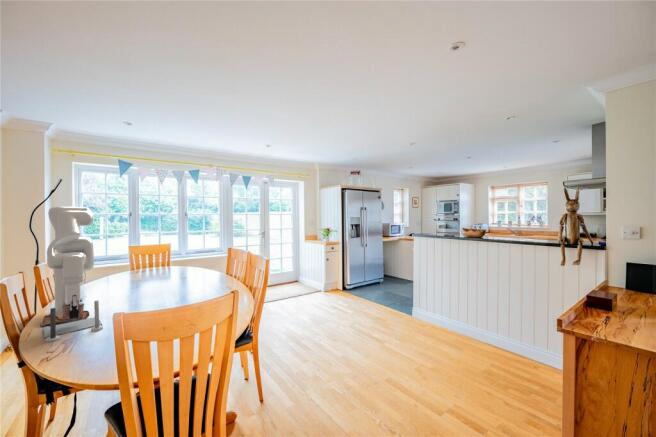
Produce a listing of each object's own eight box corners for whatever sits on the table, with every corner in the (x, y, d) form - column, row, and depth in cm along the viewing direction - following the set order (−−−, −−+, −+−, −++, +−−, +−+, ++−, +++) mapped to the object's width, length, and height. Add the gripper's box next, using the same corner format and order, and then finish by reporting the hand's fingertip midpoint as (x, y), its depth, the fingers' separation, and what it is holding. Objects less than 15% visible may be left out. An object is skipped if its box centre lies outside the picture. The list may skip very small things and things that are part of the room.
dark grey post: (45, 340, 120) (45, 308, 119) (59, 336, 123) (59, 306, 123) (46, 343, 117) (46, 311, 117) (60, 339, 120) (60, 308, 120)
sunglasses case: (37, 327, 132) (40, 314, 135) (41, 330, 137) (44, 317, 140) (86, 320, 141) (87, 307, 144) (88, 323, 146) (90, 311, 149)
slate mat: (43, 329, 131) (43, 327, 131) (97, 317, 146) (97, 316, 146) (44, 338, 121) (44, 336, 121) (102, 325, 136) (102, 323, 136)
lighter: (60, 322, 130) (60, 301, 130) (64, 319, 133) (64, 299, 133) (82, 319, 133) (82, 299, 133) (85, 317, 136) (85, 297, 136)
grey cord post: (90, 329, 131) (89, 300, 130) (102, 326, 134) (101, 298, 134) (91, 332, 128) (90, 303, 127) (103, 329, 131) (102, 300, 130)
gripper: (61, 278, 136) (61, 314, 136) (64, 284, 125) (64, 323, 125) (81, 275, 142) (81, 310, 142) (85, 281, 130) (85, 319, 130)
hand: (73, 316), depth 133 cm, fingers closed on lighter, 4 cm apart
